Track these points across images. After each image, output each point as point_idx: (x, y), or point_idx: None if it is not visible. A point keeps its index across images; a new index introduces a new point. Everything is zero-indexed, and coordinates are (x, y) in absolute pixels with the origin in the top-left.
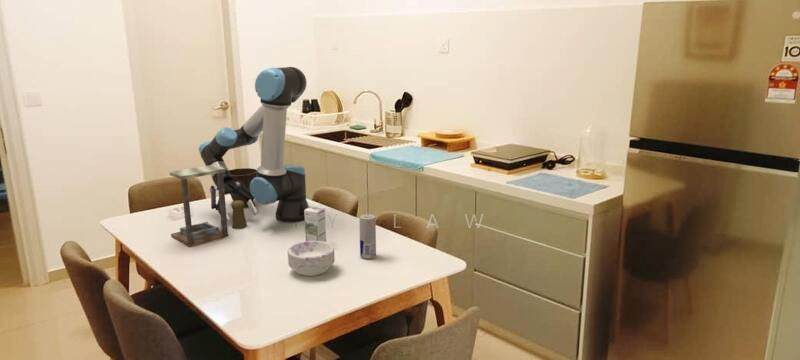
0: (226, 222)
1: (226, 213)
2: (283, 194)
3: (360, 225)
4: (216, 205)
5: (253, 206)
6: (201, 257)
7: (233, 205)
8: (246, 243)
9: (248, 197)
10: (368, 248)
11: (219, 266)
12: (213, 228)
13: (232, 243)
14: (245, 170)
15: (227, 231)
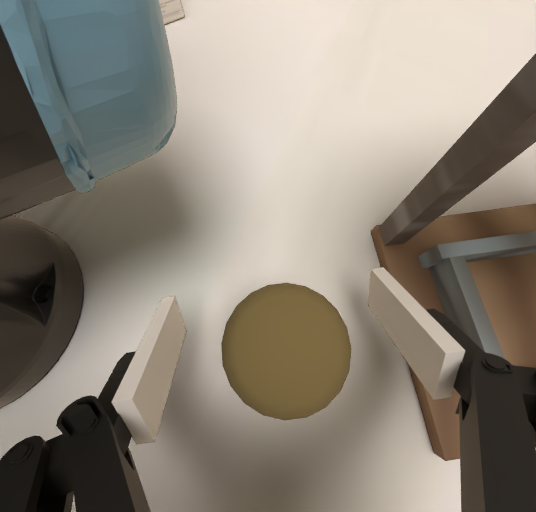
0: (410, 196)
1: (397, 293)
2: None
3: None
4: (522, 379)
5: (152, 332)
6: None
7: (339, 314)
8: (330, 126)
9: (110, 436)
10: None
11: (456, 18)
12: (466, 243)
13: (377, 153)
14: None
15: (385, 222)
